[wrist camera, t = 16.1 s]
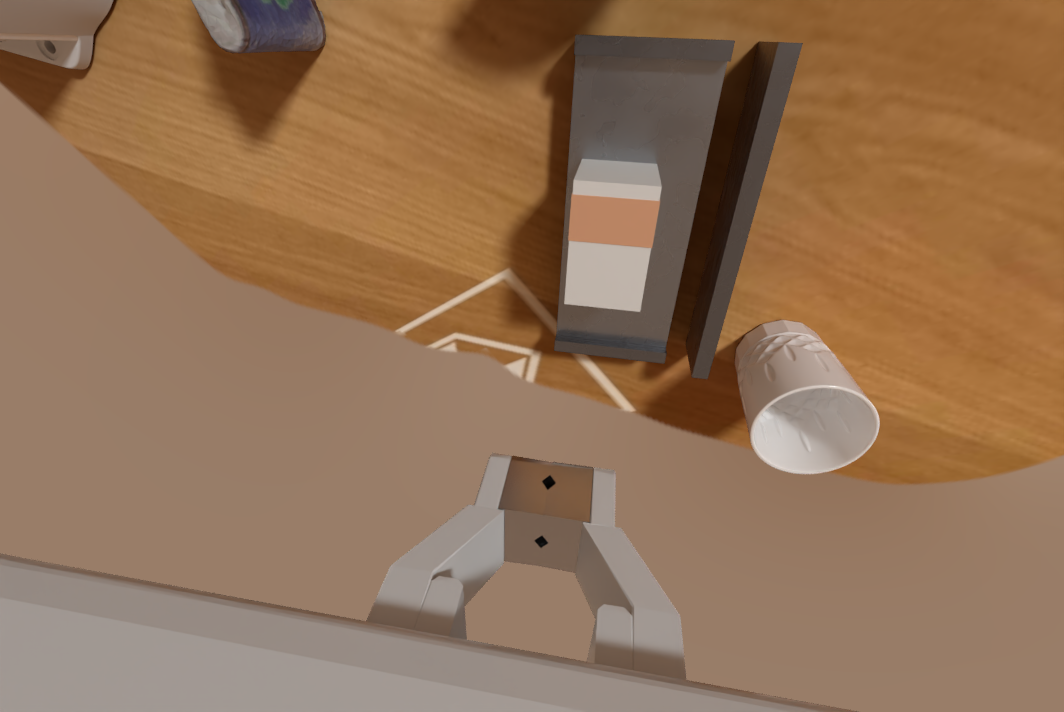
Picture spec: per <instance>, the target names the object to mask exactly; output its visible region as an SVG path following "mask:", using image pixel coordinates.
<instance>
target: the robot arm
mask: <svg viewBox="0 0 1064 712" xmlns="http://www.w3.org/2000/svg"><path fill="white" fill-rule="evenodd" d="M112 3H113V0H0V49H1V50H5V51H8V52H12V53H15V54H19V55H22V56H26V57H29V58H33V59H36V60H40V61H43V62H47V63H50V64H54V65H57V66H61V67H64V68H69V69H81V70H82V69H86V68H87V67H88V66H89V64H90V61H91V57H92V49H93V36H94V33H95V31H96V29H97V27H98V26H99V25H100V23H101V22H102V21H103V19H104V18H105V17H106V15H107V13H108V12H109V10H110V8H111V6H112ZM54 46H55V47H54ZM615 487H616V473H615V471H614V470H610V469H601V468H595V467H594V468H593V467H587V466H580V465H572V464H564V463H557V462H547V461H541V460H535V459H529V458H523V457H517V456H509V455H503V454H496V453H492V454H491V455H490V457H489V460H488V463H487V466H486V469H485V472H484V476H483V479H482V482H481V485H480V488H479V491H478V494H477V497H476V501H475V504H474V505H467V506H466V507H465V508H463V509H462V510H461V511H459V512H458V513H457V514H455V515H454V516H453V517H452V518H451V519H449V520H448V521H447V522H445V523H444V524H443V525H442V526H440V527H439V528H438V529H436V530H435V531H434V532H433V533H432V534H430V535H429V536H428V537H426V538H425V539H424V540H423V541H421V542H420V543H419V544H417V545H416V546H415V547H414V548H412V549H411V550H410V551H409V552H407V553H406V554H405V555H404V556H402V557H401V558H400V559H398V560H397V561H396V562H395V563H393V564H392V565H391V566H390V568H389V571H388V573H387V575H386V577H385V580H384V582H383V585H382V586H381V589H380V591H379V593H378V596H377V598H376V600H375V602H374V605H373V607H372V609H371V611H370V614H369V616H368V618H367V620H366V621H361V620H356V619H351V618H346V617H340V616H335V615H329V614H324V613H318V612H313V611H308V610H302V609H297V608H291V607H286V606H280V605H274V604H270V603H264V602H259V601H253V600H248V599H242V598H237V597H232V596H226V595H221V594H215V593H210V592H204V591H199V590H194V589H188V588H183V587H177V586H172V585H167V584H161V583H156V582H151V581H145V580H140V579H134V578H128V577H123V576H118V575H113V574H107V573H102V572H96V571H91V570H85V569H80V568H75V567H69V566H63V565H58V564H53V563H47V562H42V561H36V560H31V559H26V558H21V557H16V556H10V555H6V554H0V712H857V711H851V710H846V709H841V708H836V707H830V706H825V705H819V704H814V703H808V702H803V701H797V700H792V699H787V698H781V697H776V696H770V695H765V694H759V693H754V692H748V691H743V690H738V689H732V688H727V687H721V686H716V685H711V684H705V683H699V682H694V681H689V680H686V671H685V662H684V651H683V640H682V630H681V620H680V615H679V613H678V612H677V610H676V609H675V608H674V606H673V604H672V603H671V601H670V600H669V598H668V597H667V595H666V594H665V593H664V591H663V590H662V588H661V587H660V585H659V584H658V582H657V581H656V579H655V578H654V576H653V575H652V573H651V572H650V570H649V569H648V567H647V566H646V564H645V563H644V561H643V560H642V558H641V557H640V555H639V554H638V552H637V551H636V549H635V548H634V546H633V545H632V544H631V542H630V541H629V539H628V538H627V536H626V535H625V533H624V532H623V530H622V529H621V528H617V527H615ZM504 561H508V562H514V563H521V564H529V565H537V566H542V567H548V568H553V569H558V570H563V571H568V572H574V573H575V575H576V578H577V579H578V582H579V584H580V586H581V588H582V591H583V593H584V595H585V597H586V599H587V602H588V604H589V606H590V608H591V611H592V612H593V615H594V617H595V619H596V620H595V625H594V629H593V635H592V639H591V644H590V648H589V653H588V658H587V662H585V661H580V660H575V659H569V658H564V657H558V656H553V655H547V654H542V653H536V652H531V651H525V650H520V649H514V648H509V647H504V646H498V645H493V644H487V643H482V642H476V641H470V640H467V637H466V622H465V606H466V604H467V603H468V602H469V601H470V600H471V599H472V598H473V597H474V596H475V594H476V593H477V592H478V591H479V590H480V589H481V588H482V587H483V586H484V584H485V583H486V582H487V581H488V580H489V579H490V578H491V577H492V576H493V575H494V573H495V572H496V571H497V570H498V569H499V568H500V567H501V566H502V565H503V563H504Z"/></svg>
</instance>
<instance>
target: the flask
mask: <svg viewBox="0 0 1064 712" xmlns="http://www.w3.org/2000/svg"><path fill="white" fill-rule="evenodd" d="M192 2H193V4H194V6H195V8H196V9H197V11H198V13H199V15H200V17H201V19H202V21H203V23H204V25H205V26H206V28H207V29H208V31H209V32H210V35H211V37H212V38H213V39H214V41H215V42H216V43H217V44H218V46H219V47H220V48H222V49H223V50H225V51H227V52H231V53H251V52H278V51H316V50H318V49H319V48H321V47H322V46H323V45H325V38H326V34H325V25H324V21H323V15H322V12H321V11H320V12H319V10H318V7H317V5H316V1H315V0H192Z"/></svg>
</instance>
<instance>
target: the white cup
mask: <svg viewBox="0 0 1064 712" xmlns="http://www.w3.org/2000/svg"><path fill="white" fill-rule="evenodd" d="M735 368H736V372H737V376H738V386H739V390H740V396H741V402H742V406H743V410H744V415H745V419H746V423H747V428H748V432H749V437H750V441H751V445H752V447H753V450H754V451H755V453H756V454H757V455H758V456H759V458H760V459H761V460H763V461H764V462H765V463H767V464H768V465H770V466H772V467H774V468H776V469H778V470H781V471H785V472H790V473H795V474H817V473H824V472H828V471H832V470H835V469H838V468H841V467H843V466H846V465H848V464H850V463H852V462H853V461H855V460H856V459H858V458H859V457H861V456H862V455H863V454H864V453H865V452H866V451H867V450H868V449H869V448H870V447H871V446H872V444H873V443H874V441H875V439H876V437H877V435H878V431H879V425H880V422H879V416H878V413H877V410H876V409H875V407H874V405H873V404H872V403H871V401H870V400H869V399H868V398H867V396H866V395H865V394H864V392H863V391H862V390H861V388H860V387H859V386H858V384H857V383H856V382H855V380H854V379H853V378H852V376H851V375H850V374H849V372H848V371H847V370H846V368H845V367H844V366H843V365H842V363H841V362H840V361H839V360H838V359H837V358H836V356H835V355H834V353H833V352H832V351H831V350H830V349H829V348H828V347H827V346H826V345H825V344H824V343H823V341H822V340H821V339H820V337H819V336H818V334H817V333H816V332H814V331H813V330H812V329H810V328H809V327H807V326H806V325H804V324H803V323H800V322H794V321H787V320H779V321H774V322H769V323H765V324H762V325H760V326H758V327H757V328H755V329H754V330H752V331H750V332H749V333H747V334H746V335H745V336H744V338H743V339H742V341H741V342H740V344H739V345H738V347H737V348H736V355H735Z"/></svg>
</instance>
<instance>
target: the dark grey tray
mask: <svg viewBox="0 0 1064 712" xmlns="http://www.w3.org/2000/svg"><path fill="white" fill-rule="evenodd" d="M734 43H735V41H731V40H704V39H678V38H651V37H625V36H598V35H575V49H574V55H576V57H575V72H574V86H573V101H572V115H571V130H570V145H569V159H568V174H567V188H566V203H565V218H564V232H563V247H562V261H561V276H560V291H559V305H558V320H557V334H556V338H555V347H554V351H561V352H569V353H578V354H586V355H595V356H603V357H612V358H620V359H629V360H637V361H646V362H654V363H663V364H664V363H665V359H666V354H667V352H666V344H667V340H668V335H669V330H670V326H671V321H672V316H673V312H674V307H675V302H676V298H677V293H678V289H679V284H680V279H681V275H682V270H683V265H684V261H685V256H686V251H687V247H688V242H689V237H690V233H691V228H692V224H693V219H694V214H695V210H696V205H697V200H698V196H699V191H700V186H701V182H702V177H703V172H704V168H705V163H706V159H707V154H708V149H709V145H710V140H711V135H712V131H713V126H714V121H715V117H716V112H717V107H718V103H719V98H720V94H721V89H722V84H723V80H724V75H725V70H726V66H727V61H731V56H732V52H733V47H734ZM802 44H803V43H784V42H758V46H757V50H756V54H755V59H754V63H753V67H752V71H751V75H750V79H749V84H748V88H747V92H746V96H745V100H744V104H743V108H742V113H741V117H740V121H739V125H738V129H737V133H736V137H735V142H734V146H733V150H732V154H731V158H730V162H729V167H728V171H727V175H726V179H725V183H724V187H723V191H722V196H721V200H720V204H719V208H718V212H717V216H716V221H715V225H714V229H713V233H712V237H711V241H710V245H709V250H708V254H707V258H706V262H705V266H704V270H703V274H702V279H701V283H700V287H699V291H698V295H697V299H696V304H695V308H694V312H693V316H692V320H691V324H690V328H689V333H688V337H687V341H686V348H687V354H688V360H689V365H690V371H691V376H692V377H693V378H701V379H708V376H709V372H710V369H711V365H712V362H713V358H714V355H715V351H716V348H717V344H718V340H719V337H720V333H721V330H722V326H723V323H724V319H725V316H726V312H727V309H728V305H729V302H730V298H731V294H732V291H733V287H734V284H735V280H736V277H737V273H738V270H739V266H740V263H741V259H742V256H743V252H744V249H745V245H746V241H747V238H748V234H749V231H750V227H751V224H752V220H753V217H754V213H755V210H756V206H757V203H758V199H759V196H760V192H761V188H762V185H763V181H764V178H765V174H766V171H767V167H768V164H769V160H770V157H771V153H772V150H773V146H774V143H775V139H776V135H777V132H778V128H779V125H780V121H781V118H782V114H783V111H784V107H785V104H786V100H787V97H788V93H789V90H790V86H791V82H792V79H793V75H794V72H795V68H796V65H797V61H798V58H799V54H800V51H801V47H802ZM582 159H594V160H608V161H623V162H637V163H652V164H657V166H658V171H659V175H660V180H661V185H662V189H661V194H660V206H659V211H658V217H657V223H656V229H655V234H654V240H653V246H652V248H651V252H650V258H649V264H648V269H647V275H646V281H645V287H644V293H643V298H642V304H641V310H640V312H636V311H627V310H617V309H608V308H598V307H589V306H579V305H570V304H564V300H565V287H566V274H567V261H568V247H569V241H568V236H569V222H570V209H571V196H572V192H573V181H574V178H575V175H576V173H577V170H578V168H579V165H580V163H581V160H582Z"/></svg>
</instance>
